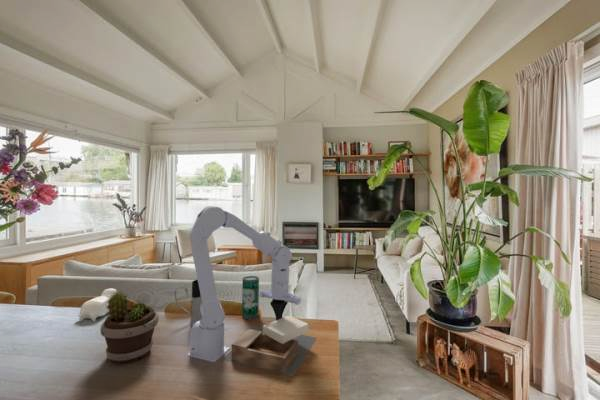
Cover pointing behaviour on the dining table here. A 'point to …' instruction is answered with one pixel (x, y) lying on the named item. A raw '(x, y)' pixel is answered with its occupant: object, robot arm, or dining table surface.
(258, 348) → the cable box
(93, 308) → the white figurine
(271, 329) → the lid
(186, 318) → the dining table surface
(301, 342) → the desk mat
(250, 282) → the can
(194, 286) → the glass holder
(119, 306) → the flowerpot
